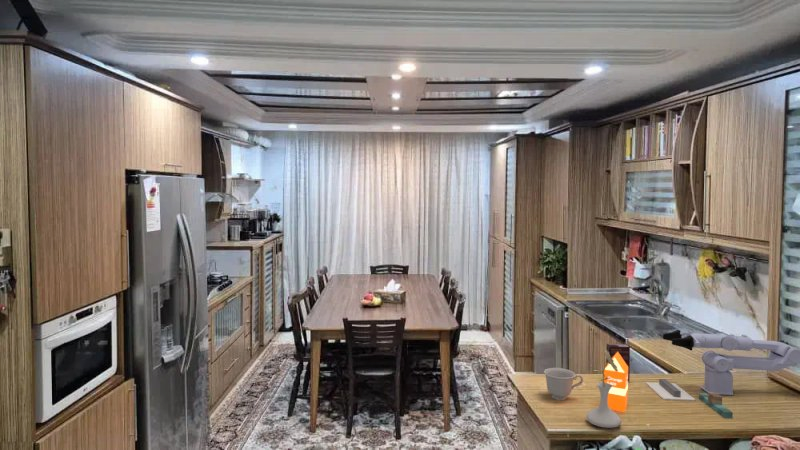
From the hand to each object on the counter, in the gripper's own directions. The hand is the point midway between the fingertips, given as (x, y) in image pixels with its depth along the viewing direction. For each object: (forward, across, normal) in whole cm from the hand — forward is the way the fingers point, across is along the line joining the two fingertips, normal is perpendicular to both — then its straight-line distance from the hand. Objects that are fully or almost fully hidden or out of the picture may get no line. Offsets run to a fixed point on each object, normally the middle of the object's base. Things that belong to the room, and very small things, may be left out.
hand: (667, 339), depth 207 cm
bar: (-10, +18, +21) cm, 29 cm away
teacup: (+45, +12, +22) cm, 51 cm away
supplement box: (+16, -9, +22) cm, 28 cm away
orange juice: (+27, +18, +22) cm, 39 cm away
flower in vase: (+36, +34, +22) cm, 55 cm away
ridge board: (-1, +3, +21) cm, 21 cm away
